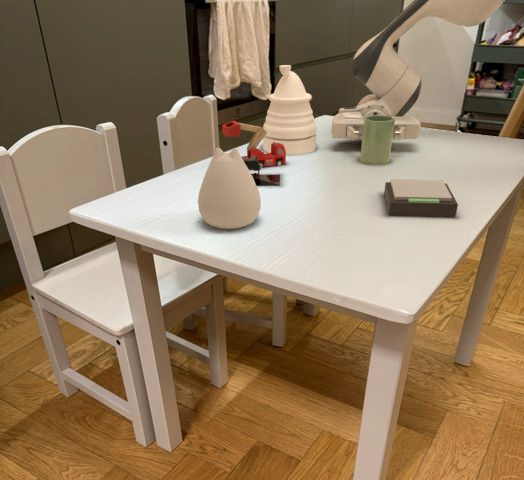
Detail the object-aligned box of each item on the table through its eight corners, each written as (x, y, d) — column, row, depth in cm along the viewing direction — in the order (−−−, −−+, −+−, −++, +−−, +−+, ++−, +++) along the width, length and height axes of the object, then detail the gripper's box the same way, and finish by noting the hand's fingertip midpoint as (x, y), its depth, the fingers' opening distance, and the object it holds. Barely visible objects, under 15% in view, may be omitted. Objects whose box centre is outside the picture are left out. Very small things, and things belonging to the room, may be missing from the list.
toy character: (265, 212, 88) (264, 140, 81) (255, 236, 80) (253, 158, 72) (208, 210, 89) (202, 139, 82) (192, 233, 81) (184, 156, 74)
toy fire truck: (287, 165, 111) (288, 118, 105) (228, 173, 107) (226, 124, 101) (282, 161, 113) (282, 115, 108) (224, 169, 109) (221, 121, 104)
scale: (444, 196, 93) (447, 179, 91) (455, 218, 84) (459, 200, 82) (383, 195, 94) (385, 178, 92) (388, 217, 85) (390, 199, 83)
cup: (388, 158, 114) (393, 115, 109) (390, 166, 109) (395, 121, 104) (359, 157, 115) (363, 115, 110) (360, 165, 110) (364, 121, 104)
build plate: (279, 176, 105) (280, 153, 102) (280, 188, 99) (280, 163, 96) (221, 176, 105) (219, 153, 102) (217, 188, 99) (216, 164, 96)
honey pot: (295, 159, 115) (297, 70, 104) (252, 150, 122) (249, 66, 111) (325, 147, 123) (330, 63, 112) (284, 139, 130) (284, 60, 119)
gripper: (414, 136, 123) (422, 151, 112) (331, 135, 125) (330, 150, 114) (419, 108, 119) (427, 120, 108) (332, 108, 121) (332, 120, 110)
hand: (376, 135), depth 111 cm, fingers open, 8 cm apart
